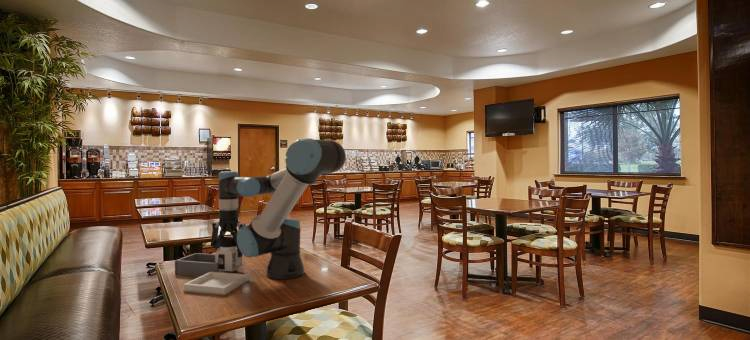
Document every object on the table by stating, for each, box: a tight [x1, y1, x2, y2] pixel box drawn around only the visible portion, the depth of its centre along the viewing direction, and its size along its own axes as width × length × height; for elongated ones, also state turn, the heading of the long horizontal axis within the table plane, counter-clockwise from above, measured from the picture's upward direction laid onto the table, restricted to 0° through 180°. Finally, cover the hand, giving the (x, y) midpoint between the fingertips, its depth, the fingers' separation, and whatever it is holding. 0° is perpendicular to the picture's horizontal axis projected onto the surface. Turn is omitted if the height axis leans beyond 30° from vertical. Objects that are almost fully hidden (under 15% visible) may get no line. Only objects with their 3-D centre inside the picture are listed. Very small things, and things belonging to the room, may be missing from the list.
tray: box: [183, 271, 249, 296], centre depth 146 cm, size 16×16×3 cm
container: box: [214, 235, 243, 272], centre depth 162 cm, size 8×8×13 cm
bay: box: [174, 252, 220, 277], centre depth 165 cm, size 19×13×6 cm
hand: (228, 264), depth 162 cm, fingers closed on container, 8 cm apart
